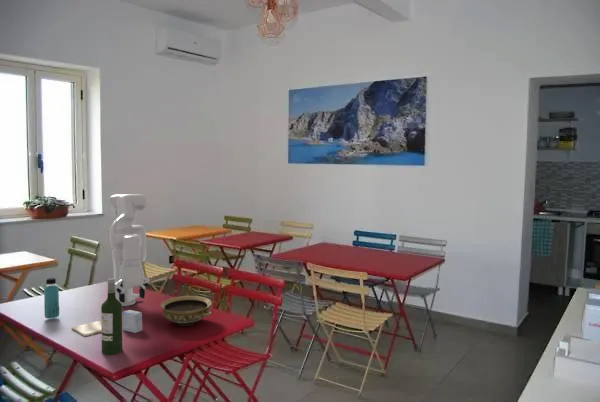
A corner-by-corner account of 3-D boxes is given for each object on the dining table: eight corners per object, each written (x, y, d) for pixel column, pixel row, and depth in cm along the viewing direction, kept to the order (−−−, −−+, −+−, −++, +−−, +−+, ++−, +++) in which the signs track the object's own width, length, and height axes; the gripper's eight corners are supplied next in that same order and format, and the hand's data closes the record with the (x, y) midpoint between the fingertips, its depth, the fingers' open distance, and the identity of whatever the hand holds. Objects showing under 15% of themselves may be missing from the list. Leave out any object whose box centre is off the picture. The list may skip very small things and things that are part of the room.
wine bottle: (97, 353, 194) (96, 280, 192) (111, 346, 202) (110, 275, 199) (112, 356, 192) (112, 282, 189) (126, 349, 199) (126, 277, 196)
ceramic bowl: (144, 324, 229) (144, 303, 229) (181, 311, 250) (181, 292, 249) (191, 337, 214) (191, 315, 213) (226, 322, 235) (226, 302, 234)
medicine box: (142, 330, 221) (142, 312, 220) (135, 333, 217) (135, 314, 216) (129, 327, 224) (129, 309, 224) (122, 330, 220) (122, 312, 220)
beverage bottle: (53, 322, 230) (52, 280, 228) (41, 320, 231) (40, 279, 229) (62, 317, 236) (61, 277, 234) (50, 316, 237) (49, 276, 236)
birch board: (99, 322, 230) (99, 320, 230) (112, 329, 222) (112, 327, 221) (71, 329, 220) (71, 327, 220) (84, 336, 212) (84, 334, 212)
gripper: (144, 259, 227) (144, 294, 228) (109, 264, 214) (109, 302, 215) (153, 261, 222) (153, 297, 223) (117, 266, 209) (118, 305, 210)
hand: (132, 299), depth 219 cm, fingers open, 9 cm apart
